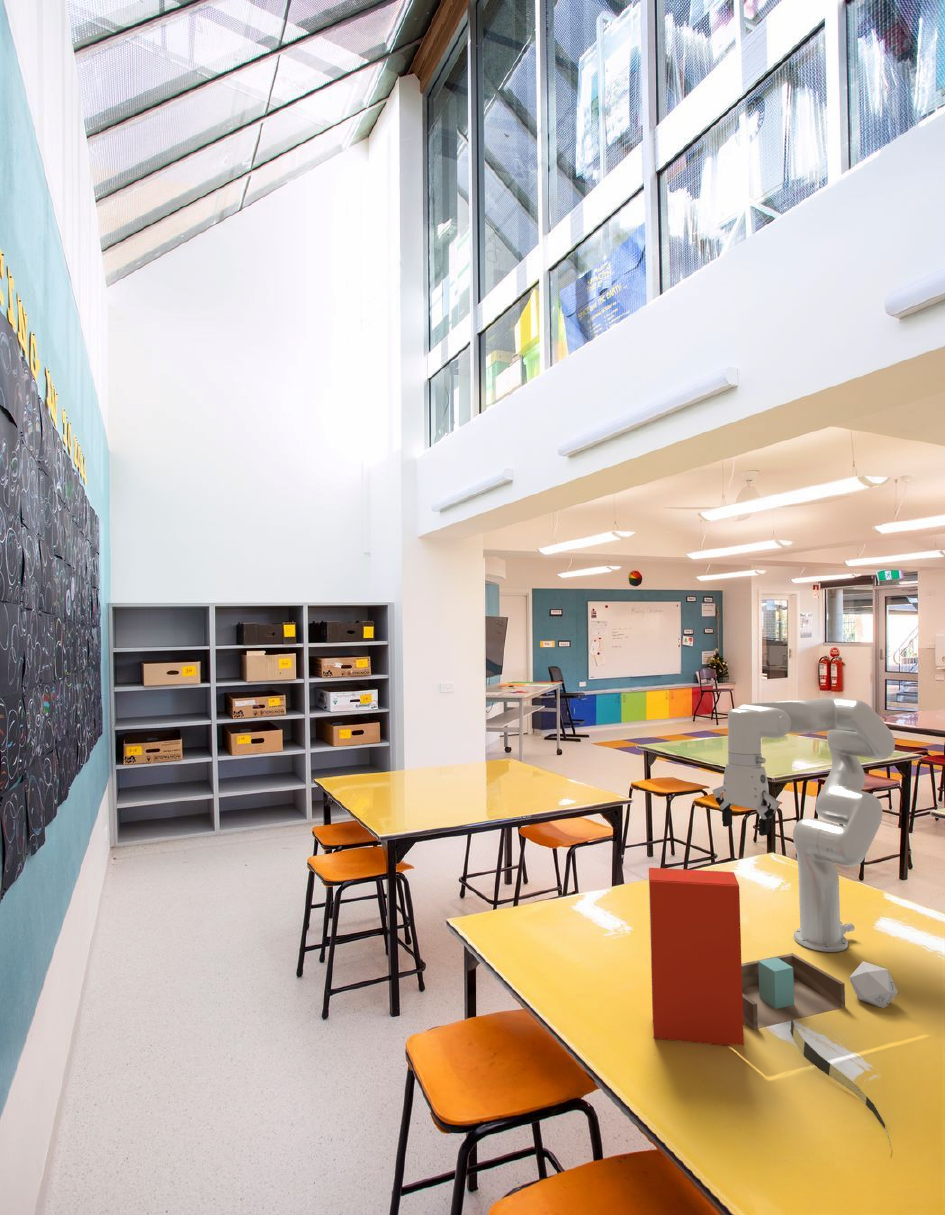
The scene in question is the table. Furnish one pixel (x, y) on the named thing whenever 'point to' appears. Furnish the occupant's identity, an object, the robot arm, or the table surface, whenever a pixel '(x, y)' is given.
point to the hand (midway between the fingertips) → (745, 830)
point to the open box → (810, 993)
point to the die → (873, 984)
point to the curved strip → (833, 1073)
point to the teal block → (776, 983)
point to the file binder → (696, 956)
